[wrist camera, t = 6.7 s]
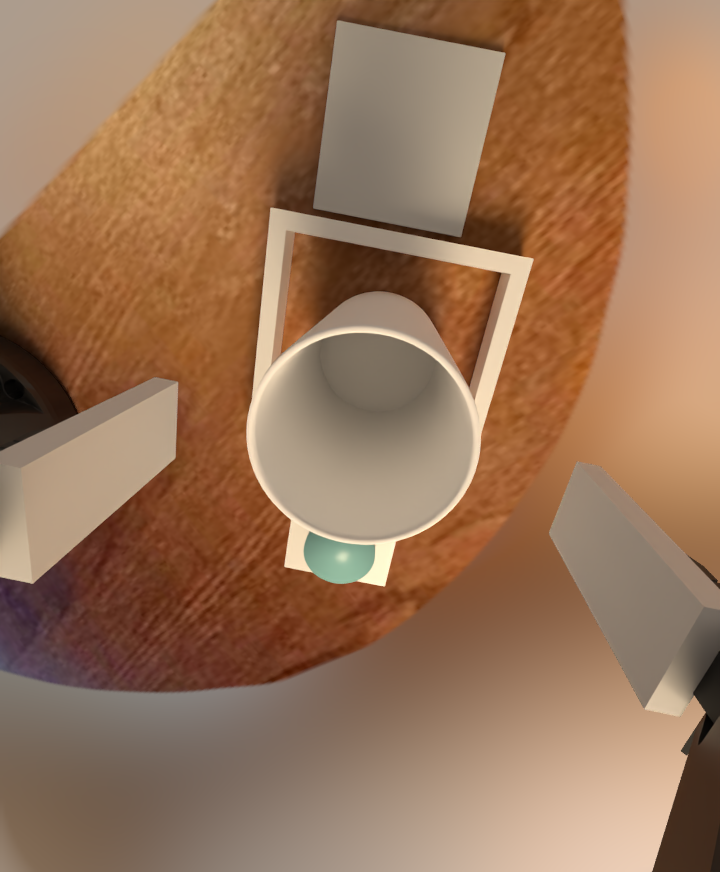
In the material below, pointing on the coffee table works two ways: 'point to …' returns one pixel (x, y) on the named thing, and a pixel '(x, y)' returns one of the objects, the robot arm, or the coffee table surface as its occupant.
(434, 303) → the coffee table surface
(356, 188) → the pad
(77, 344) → the coffee table surface
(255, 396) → the cup
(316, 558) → the mint mushroom button
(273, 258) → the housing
